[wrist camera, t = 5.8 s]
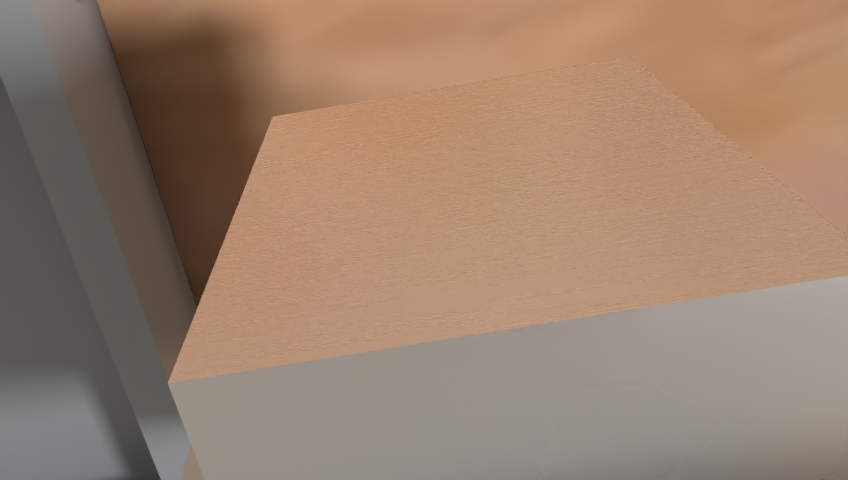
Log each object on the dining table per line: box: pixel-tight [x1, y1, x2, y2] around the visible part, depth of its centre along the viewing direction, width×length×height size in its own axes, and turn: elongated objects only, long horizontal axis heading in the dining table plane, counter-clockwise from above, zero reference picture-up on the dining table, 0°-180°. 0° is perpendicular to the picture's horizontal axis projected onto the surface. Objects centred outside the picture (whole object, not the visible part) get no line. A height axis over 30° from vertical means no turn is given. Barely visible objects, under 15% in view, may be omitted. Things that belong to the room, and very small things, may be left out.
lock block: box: [168, 57, 848, 480], centre depth 10 cm, size 8×5×6 cm, turn 9°
